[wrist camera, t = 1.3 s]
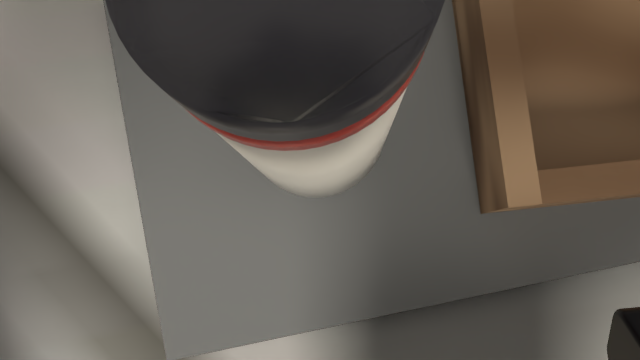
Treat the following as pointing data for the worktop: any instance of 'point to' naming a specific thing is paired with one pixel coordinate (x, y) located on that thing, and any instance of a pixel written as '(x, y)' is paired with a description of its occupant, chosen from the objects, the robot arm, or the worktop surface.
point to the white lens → (285, 76)
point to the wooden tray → (551, 100)
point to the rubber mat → (340, 221)
